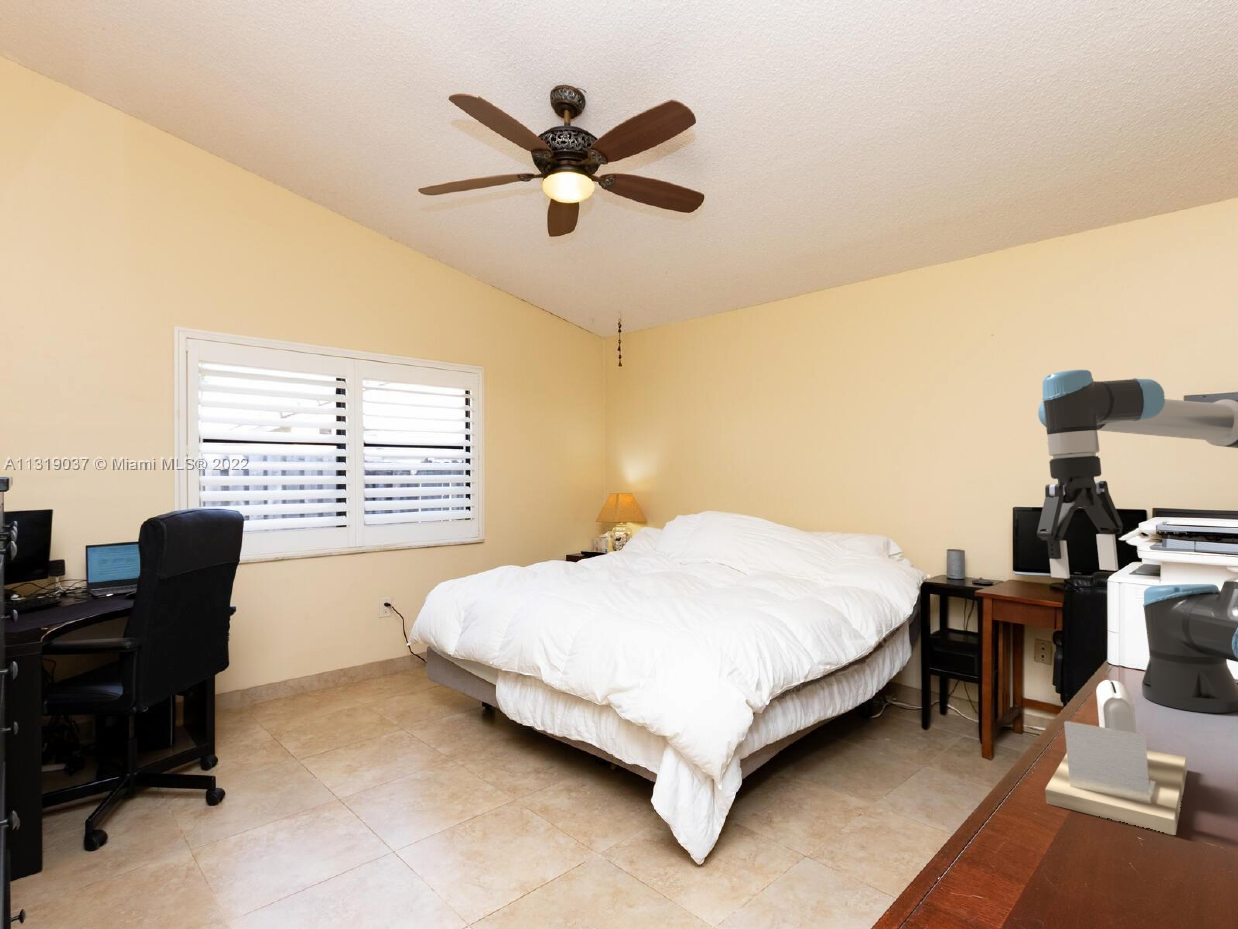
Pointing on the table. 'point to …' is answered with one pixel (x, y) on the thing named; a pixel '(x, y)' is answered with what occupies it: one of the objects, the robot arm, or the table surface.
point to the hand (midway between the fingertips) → (1085, 573)
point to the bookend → (1108, 762)
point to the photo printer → (1115, 706)
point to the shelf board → (1155, 816)
